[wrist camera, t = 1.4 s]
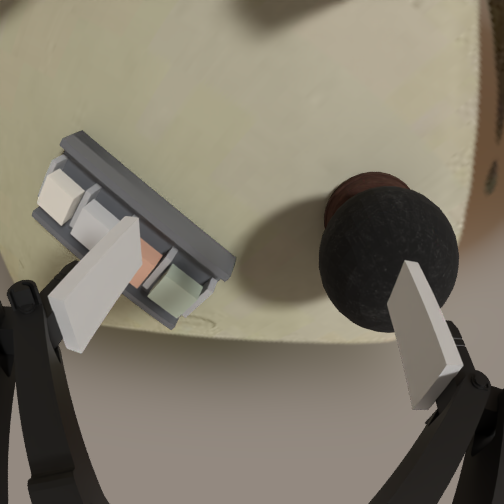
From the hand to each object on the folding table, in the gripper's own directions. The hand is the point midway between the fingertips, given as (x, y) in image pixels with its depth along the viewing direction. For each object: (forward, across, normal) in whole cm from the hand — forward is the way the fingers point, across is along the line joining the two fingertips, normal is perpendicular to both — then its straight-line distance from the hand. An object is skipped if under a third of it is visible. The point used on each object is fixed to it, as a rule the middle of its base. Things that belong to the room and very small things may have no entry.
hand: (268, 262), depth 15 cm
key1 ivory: (+16, -25, -6) cm, 30 cm away
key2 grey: (+16, -20, -9) cm, 28 cm away
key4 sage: (+17, -10, -16) cm, 25 cm away
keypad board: (+20, -18, -11) cm, 29 cm away
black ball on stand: (+20, +11, -5) cm, 24 cm away
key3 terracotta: (+17, -15, -13) cm, 26 cm away
